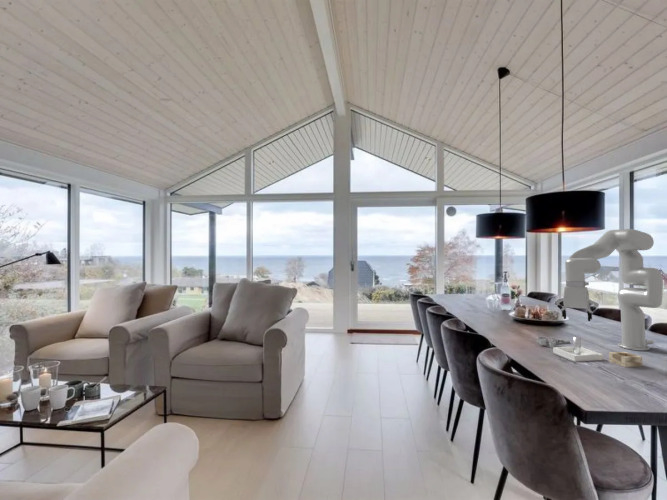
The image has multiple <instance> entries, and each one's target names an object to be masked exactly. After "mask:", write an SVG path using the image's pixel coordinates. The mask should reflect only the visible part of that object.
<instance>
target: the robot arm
mask: <svg viewBox="0 0 667 500" xmlns="http://www.w3.org/2000/svg"><path fill="white" fill-rule="evenodd" d="M654 242H655V241H654V238H653V236H652V235H651V234H650V233H647V232H643V231H641V230H637V229H632V228H624V229H612V230H607V231H606V232H605V233H604V234H602V235H601V236H600V237H599V238H598V239H597V240H596V241H595V242H594V243H593V244H590V245H588V246H586V247H583V248H581V249H578V250H577V251H575V252H574V253H572V254H570V256H569V257H568V258H567V259H566V260H565V262H564V264H565V268H564V269H565V286H564V288H563V289H564V290H563V298H561V299H557V300H555V301H554V304H555V305H556V306H557V308H558V309H560V311H561V317H562V318H563V319H564V320H565V319H566V320H567V311H566V309H567V308H570V309H585V310H586V311H587V321H588V322H591V320H593V312H595V310H597V309H598V307H599V305H600V303H599V302H596V301H594V300H592V299H590V296H589V295H590V294H589V289H588V287H587V286H590V285H589V284H590V283H589V282H587V281H586V278H585V277H586V276H585V274H595V273H597V272H599V270H600V269H601V263H600V261H599V259H603V258H605V259H606V258H607V257H609V256H611V254H612V253H614V251H616V252H617V253H618V254H619V255H620V257H621V261H622V262H621V280H622V282H623V283H624V284H626V285H628V286H641V287H646V288H639V287H623V288H620V289H619V290H618V293H617V298H618V302H619V309H620V327H621V328H620V329H621V331H620V332H621V342H618V343H617V346H618V347H620V348H622V349H627V350H631V351H632V350H633V351H650V349H651V348H650V346H648V345H653V344H654V340H653V339H650V340H647V339H646V323H645V322H646V320H645V319H646V318H645V313H644V311H643V310H642V308H649V309H657V308H660V306H661V305H662V303H663V290H664V289H663V285H664V284H663V281H664V279H663V275H662V273H661V271H660V269H658V268H655V267H644V257H643V255H642V254H641V253H640V251H647V250H650V249H652V248H653V246H654V244H655V243H654ZM560 303H563V306H562V304H560ZM590 304H591V305H593V307H592V308H591V307H590Z"/></svg>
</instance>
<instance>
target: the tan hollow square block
mask: <svg viewBox="0 0 667 500" xmlns="http://www.w3.org/2000/svg"><path fill="white" fill-rule="evenodd" d="M608 361H609V362H610V363H613V364H616V365H618V366H622V367H624V368H628V367H629V368H633V367H635V368H637V367H643V356H640V355H637V354H635V353H634V354H633V353H630V352H627V351H612V352H610V351H609V352H608Z"/></svg>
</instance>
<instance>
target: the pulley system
mask: <svg viewBox="0 0 667 500" xmlns="http://www.w3.org/2000/svg"><path fill="white" fill-rule="evenodd" d="M570 343H571V341H570V340H566V339H562V338H555V337H554V338H553V337H552V338H551V341H549V340H548V337H537V338H536V344H537V345H541V346H546V347H549V348H550V349H553V347H564V346H562V345H564V344H565V345H566V344H570Z"/></svg>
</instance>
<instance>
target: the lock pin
mask: <svg viewBox="0 0 667 500" xmlns="http://www.w3.org/2000/svg"><path fill="white" fill-rule="evenodd" d="M572 337H573V338H572V341H573V344H572V345H573V346H572V347H573V349H574V355H581V347H582V337H580V336H572Z"/></svg>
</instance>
